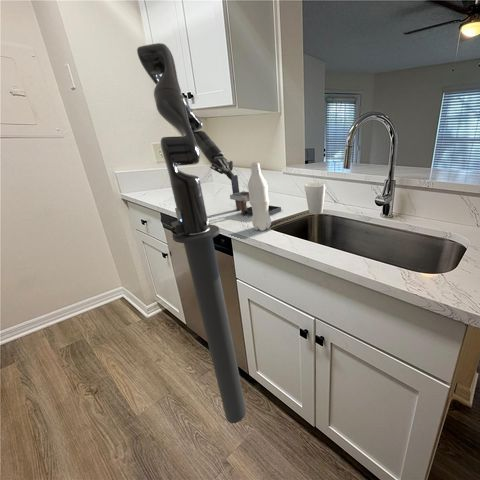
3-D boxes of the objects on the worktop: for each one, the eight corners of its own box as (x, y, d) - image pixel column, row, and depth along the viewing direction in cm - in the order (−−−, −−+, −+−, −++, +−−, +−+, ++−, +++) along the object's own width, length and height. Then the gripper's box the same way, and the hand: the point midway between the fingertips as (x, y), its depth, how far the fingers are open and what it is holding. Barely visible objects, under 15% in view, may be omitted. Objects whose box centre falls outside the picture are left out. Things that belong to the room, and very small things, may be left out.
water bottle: (260, 233, 98) (252, 164, 88) (249, 229, 102) (240, 163, 92) (275, 227, 103) (269, 162, 93) (264, 224, 107) (257, 161, 97)
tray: (281, 210, 125) (281, 207, 124) (264, 217, 115) (264, 213, 115) (259, 207, 131) (258, 203, 131) (241, 213, 122) (241, 209, 121)
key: (250, 197, 126) (249, 196, 126) (247, 198, 124) (247, 197, 124) (242, 195, 128) (242, 195, 128) (239, 196, 126) (239, 195, 126)
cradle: (265, 207, 131) (264, 194, 128) (244, 215, 119) (242, 200, 117) (250, 205, 136) (248, 192, 133) (229, 212, 124) (226, 198, 121)
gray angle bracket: (262, 197, 128) (260, 176, 124) (245, 203, 119) (242, 179, 114) (244, 194, 133) (242, 173, 129) (227, 199, 124) (223, 177, 120)
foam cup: (307, 216, 116) (306, 187, 111) (304, 210, 125) (303, 183, 119) (328, 214, 118) (327, 185, 113) (323, 209, 126) (323, 182, 121)
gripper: (218, 155, 133) (239, 181, 133) (196, 157, 123) (219, 186, 122) (224, 144, 129) (246, 171, 128) (202, 146, 118) (225, 175, 117)
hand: (232, 178), depth 125 cm, fingers closed
